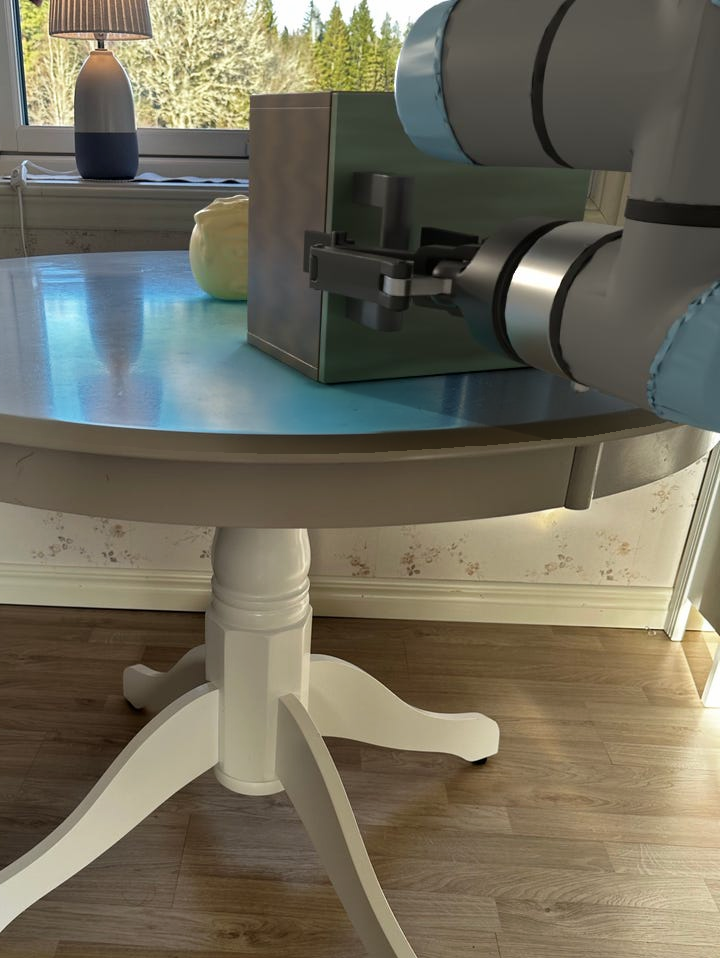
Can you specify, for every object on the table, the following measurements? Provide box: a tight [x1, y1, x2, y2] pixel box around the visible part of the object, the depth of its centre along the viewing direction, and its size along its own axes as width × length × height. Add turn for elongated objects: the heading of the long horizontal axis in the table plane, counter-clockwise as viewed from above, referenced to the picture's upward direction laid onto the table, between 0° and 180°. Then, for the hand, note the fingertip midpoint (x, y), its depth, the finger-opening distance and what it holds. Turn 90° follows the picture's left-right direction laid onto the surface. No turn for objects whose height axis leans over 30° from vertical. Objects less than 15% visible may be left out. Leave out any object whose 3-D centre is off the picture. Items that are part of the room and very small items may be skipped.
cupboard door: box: [319, 93, 593, 384], centre depth 71 cm, size 7×22×20 cm, turn 110°
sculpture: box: [188, 194, 249, 301], centre depth 109 cm, size 11×12×11 cm
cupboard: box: [246, 89, 395, 383], centre depth 81 cm, size 16×22×20 cm
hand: (367, 248), depth 69 cm, fingers open, 9 cm apart
